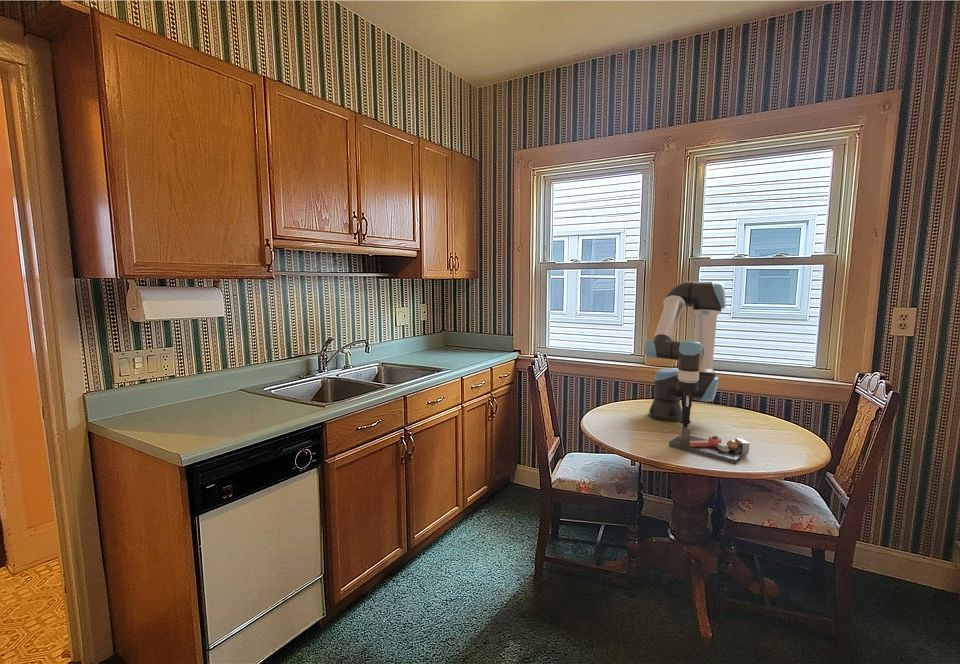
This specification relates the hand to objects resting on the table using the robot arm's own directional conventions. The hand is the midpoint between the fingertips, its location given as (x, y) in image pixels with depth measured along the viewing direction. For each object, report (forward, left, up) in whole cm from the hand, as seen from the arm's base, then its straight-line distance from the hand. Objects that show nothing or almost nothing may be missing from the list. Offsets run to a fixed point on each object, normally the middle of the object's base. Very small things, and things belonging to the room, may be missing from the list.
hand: (684, 438), depth 178 cm
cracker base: (+8, +3, -3) cm, 9 cm away
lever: (+8, -1, -1) cm, 8 cm away
